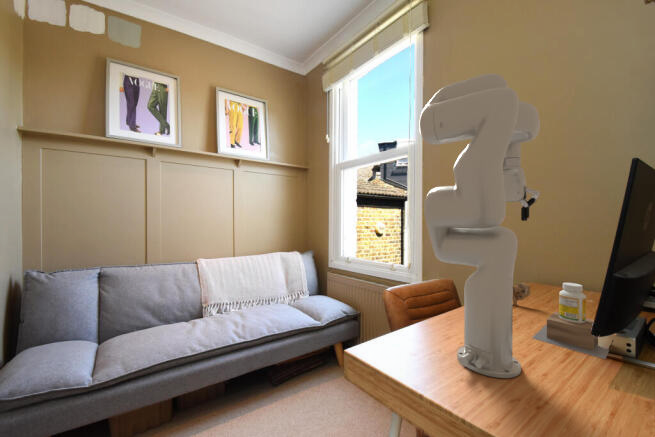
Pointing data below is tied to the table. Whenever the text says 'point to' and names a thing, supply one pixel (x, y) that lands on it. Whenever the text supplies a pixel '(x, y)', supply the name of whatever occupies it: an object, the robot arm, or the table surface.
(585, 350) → the base plate
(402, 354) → the table surface
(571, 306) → the supplement bottle
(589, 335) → the walnut block
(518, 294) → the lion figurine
